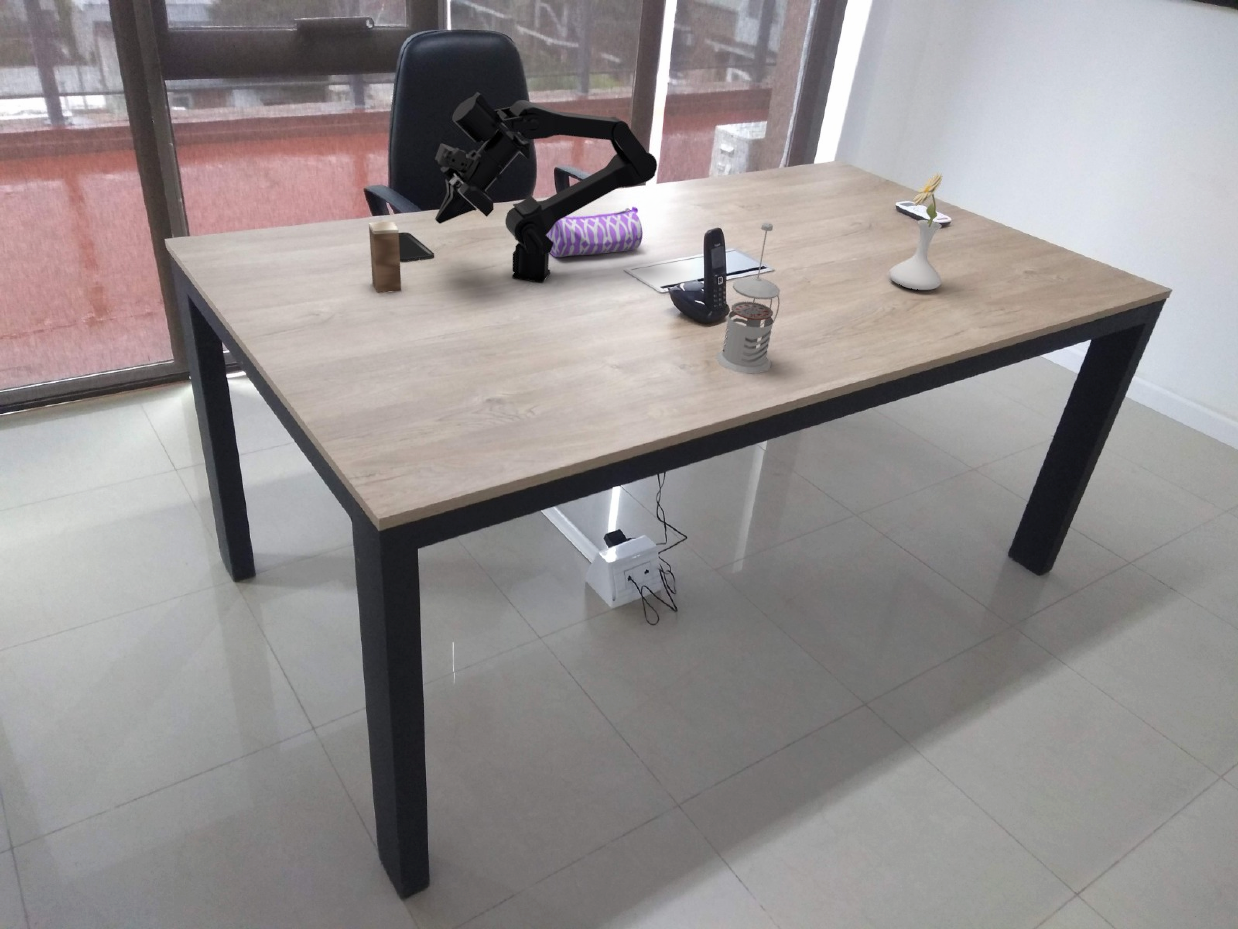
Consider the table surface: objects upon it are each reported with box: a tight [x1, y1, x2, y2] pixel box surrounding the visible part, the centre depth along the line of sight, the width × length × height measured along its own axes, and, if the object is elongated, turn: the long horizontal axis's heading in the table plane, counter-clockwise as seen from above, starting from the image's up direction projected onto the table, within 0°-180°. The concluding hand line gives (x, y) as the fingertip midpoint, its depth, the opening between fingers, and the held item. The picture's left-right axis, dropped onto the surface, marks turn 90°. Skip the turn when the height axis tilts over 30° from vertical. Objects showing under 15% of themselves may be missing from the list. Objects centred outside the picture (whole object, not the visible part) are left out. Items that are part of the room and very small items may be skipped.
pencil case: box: [546, 206, 644, 258], centre depth 199 cm, size 22×9×10 cm, turn 123°
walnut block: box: [368, 221, 402, 294], centre depth 172 cm, size 4×4×12 cm
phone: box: [399, 231, 435, 263], centre depth 193 cm, size 8×1×15 cm
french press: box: [715, 221, 781, 374], centre depth 155 cm, size 10×12×25 cm
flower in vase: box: [888, 172, 943, 291], centre depth 194 cm, size 13×11×25 cm
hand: (437, 221), depth 172 cm, fingers closed
